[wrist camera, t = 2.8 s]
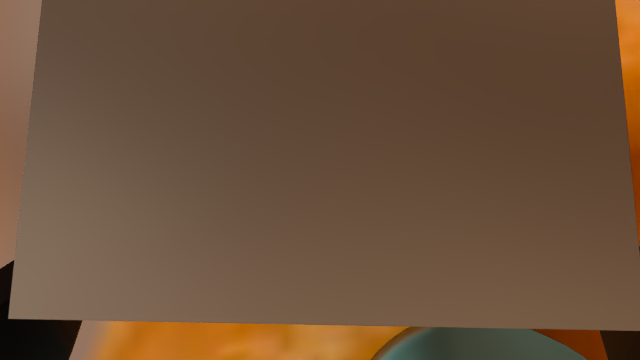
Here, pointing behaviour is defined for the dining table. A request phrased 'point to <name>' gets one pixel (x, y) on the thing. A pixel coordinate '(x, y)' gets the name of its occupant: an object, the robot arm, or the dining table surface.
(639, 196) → the dining table surface
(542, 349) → the teal base
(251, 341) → the dining table surface
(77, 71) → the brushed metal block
